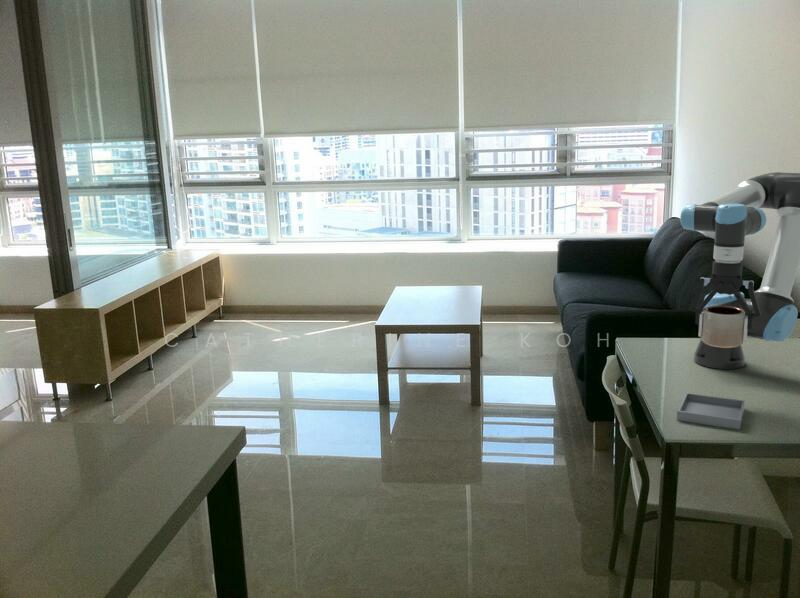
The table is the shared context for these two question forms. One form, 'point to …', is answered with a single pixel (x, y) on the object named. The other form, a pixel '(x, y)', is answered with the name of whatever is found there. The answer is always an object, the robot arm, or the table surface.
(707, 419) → the tray
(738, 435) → the table surface
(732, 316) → the planter
